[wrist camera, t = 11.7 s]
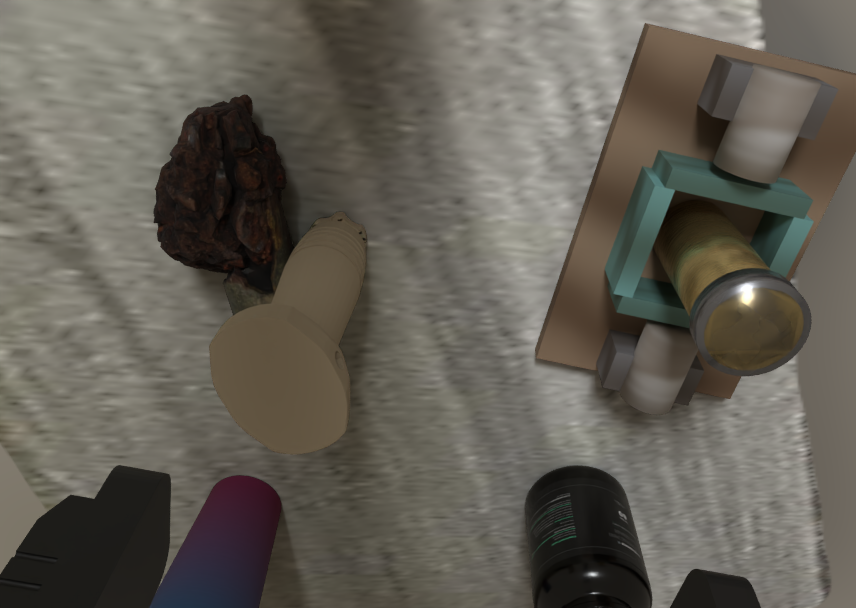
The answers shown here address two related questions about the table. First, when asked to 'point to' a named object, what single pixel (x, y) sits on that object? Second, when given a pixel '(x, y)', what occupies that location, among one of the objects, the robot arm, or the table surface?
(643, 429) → the table surface
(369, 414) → the table surface
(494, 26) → the table surface
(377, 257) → the table surface
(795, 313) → the cylinder
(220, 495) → the cup
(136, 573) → the robot arm
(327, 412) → the handle
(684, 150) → the shaft bench
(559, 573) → the supplement bottle
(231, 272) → the dark brown elongated piece
